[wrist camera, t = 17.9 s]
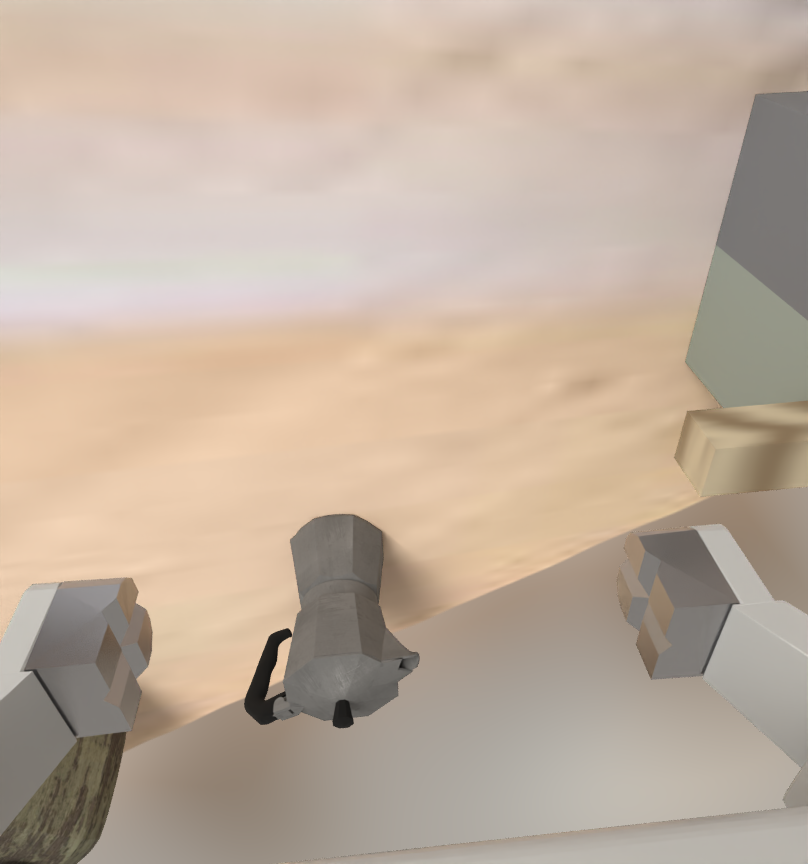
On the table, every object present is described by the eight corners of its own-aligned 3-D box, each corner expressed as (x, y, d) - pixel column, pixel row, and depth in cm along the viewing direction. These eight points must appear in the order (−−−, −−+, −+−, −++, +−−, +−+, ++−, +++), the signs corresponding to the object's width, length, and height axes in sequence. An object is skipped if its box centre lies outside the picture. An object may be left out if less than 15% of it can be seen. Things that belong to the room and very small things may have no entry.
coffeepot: (378, 489, 60) (397, 666, 46) (419, 551, 66) (447, 726, 52) (230, 549, 63) (205, 733, 49) (282, 604, 68) (272, 784, 54)
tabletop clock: (64, 643, 69) (-38, 936, 49) (145, 671, 73) (82, 950, 53) (4, 709, 75) (-108, 994, 55) (83, 731, 79) (5, 1003, 59)
